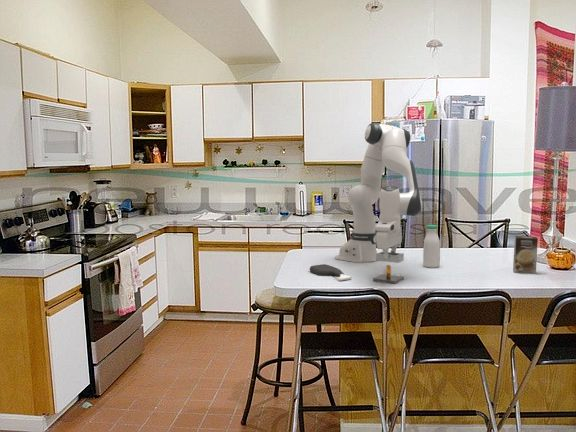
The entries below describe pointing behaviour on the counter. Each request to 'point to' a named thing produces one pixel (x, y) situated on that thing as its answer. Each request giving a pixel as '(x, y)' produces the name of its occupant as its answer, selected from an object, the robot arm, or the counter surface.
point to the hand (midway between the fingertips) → (389, 256)
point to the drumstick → (329, 272)
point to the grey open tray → (390, 257)
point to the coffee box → (525, 254)
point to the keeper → (388, 277)
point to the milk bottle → (431, 248)
